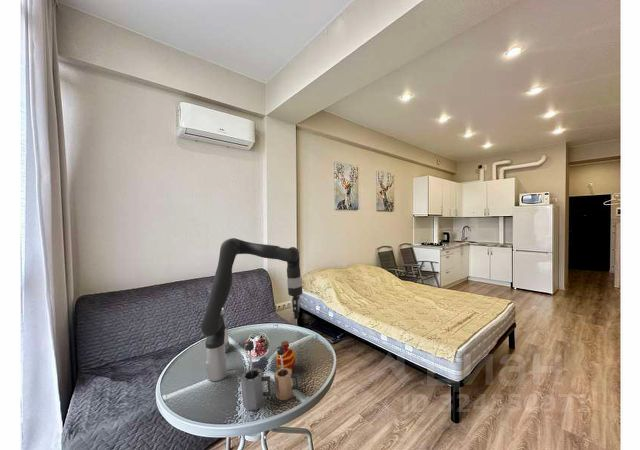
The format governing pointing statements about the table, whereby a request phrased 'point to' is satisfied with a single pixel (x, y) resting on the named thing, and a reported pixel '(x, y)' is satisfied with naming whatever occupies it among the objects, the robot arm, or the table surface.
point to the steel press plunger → (249, 347)
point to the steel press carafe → (254, 389)
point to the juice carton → (225, 331)
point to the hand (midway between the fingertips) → (297, 315)
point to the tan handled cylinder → (285, 384)
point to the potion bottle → (286, 357)
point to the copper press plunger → (280, 352)
